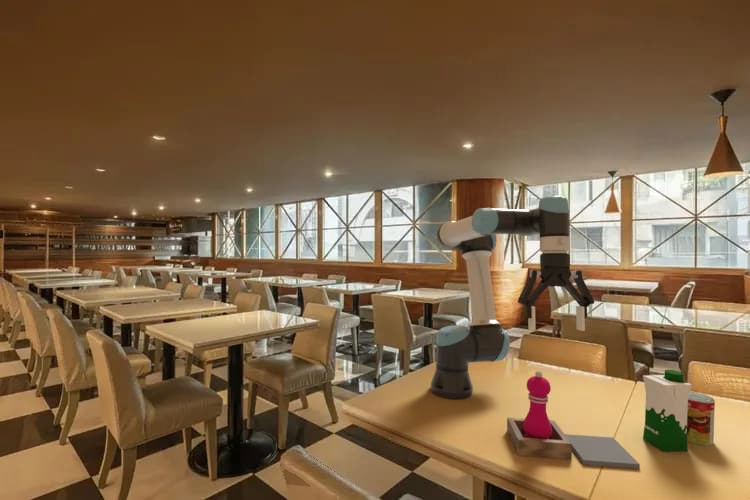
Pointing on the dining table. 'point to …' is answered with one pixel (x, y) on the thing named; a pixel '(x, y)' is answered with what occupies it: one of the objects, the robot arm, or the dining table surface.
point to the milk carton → (666, 411)
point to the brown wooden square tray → (539, 441)
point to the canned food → (700, 419)
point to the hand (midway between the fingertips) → (556, 330)
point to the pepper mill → (537, 408)
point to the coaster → (601, 452)
